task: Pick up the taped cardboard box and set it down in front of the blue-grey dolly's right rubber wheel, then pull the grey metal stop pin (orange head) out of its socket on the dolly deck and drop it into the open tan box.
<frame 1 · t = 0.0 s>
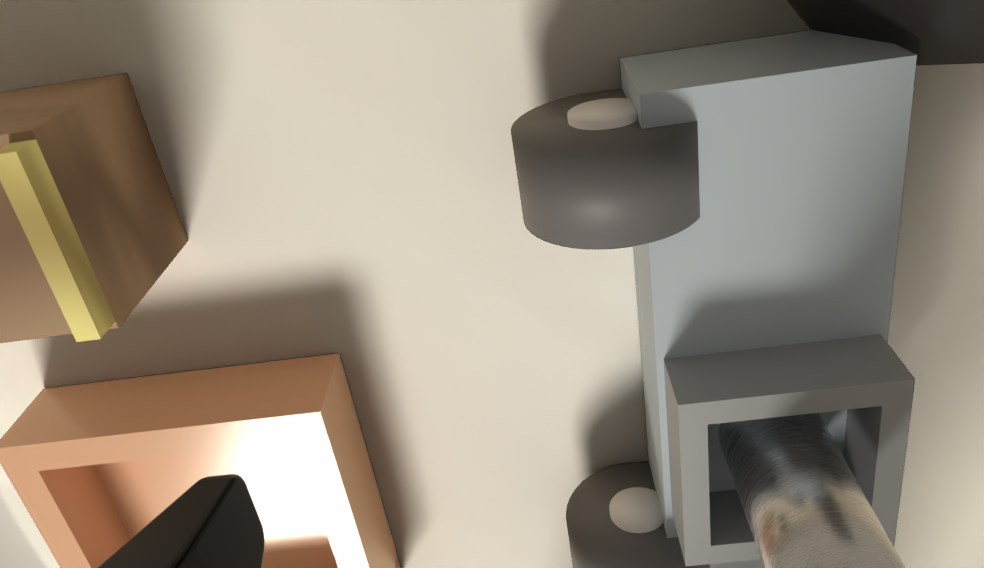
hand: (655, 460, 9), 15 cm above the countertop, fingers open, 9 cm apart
open tan box: (235, 486, 28), on the countertop
taped cardboard box: (76, 172, 23), on the countertop
pin: (769, 430, 22), point 3 cm above the countertop, touching dolly
dolly: (687, 311, 25), on the countertop
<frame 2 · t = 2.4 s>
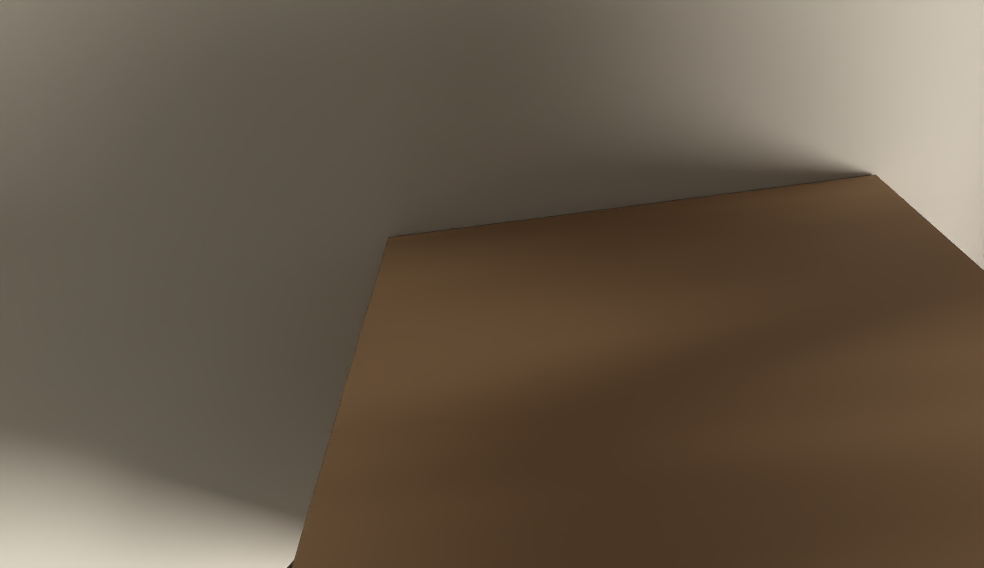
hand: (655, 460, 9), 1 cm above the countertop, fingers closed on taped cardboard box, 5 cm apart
taped cardboard box: (640, 400, 9), on the countertop, touching gripper
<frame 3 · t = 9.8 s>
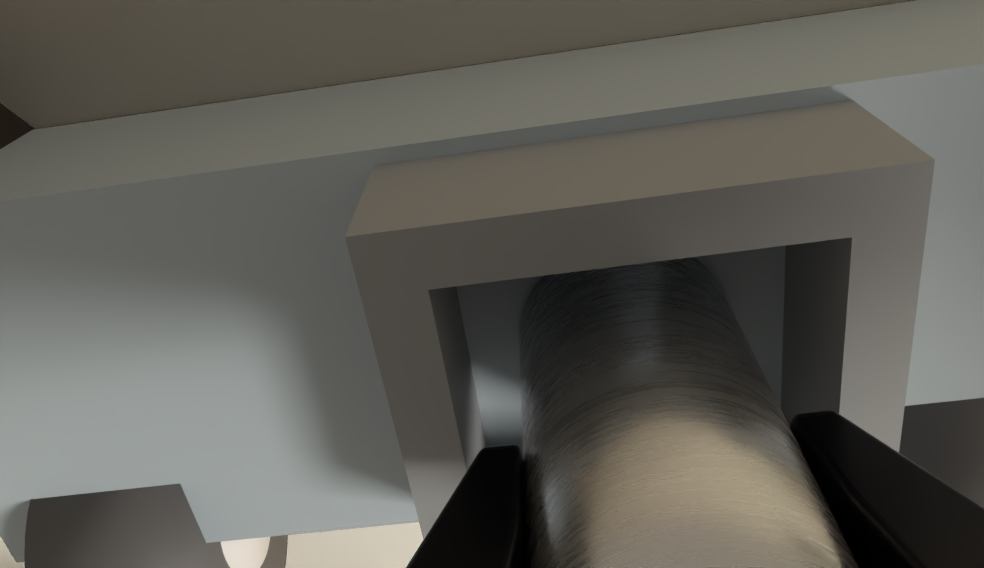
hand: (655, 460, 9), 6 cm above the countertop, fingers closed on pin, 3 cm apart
pin: (623, 333, 11), point 3 cm above the countertop, touching dolly, gripper
dolly: (494, 313, 15), on the countertop
when the fingers open (5 cm above the countertop, at t = 13.3 s): pin drops 2 cm, resting on open tan box.
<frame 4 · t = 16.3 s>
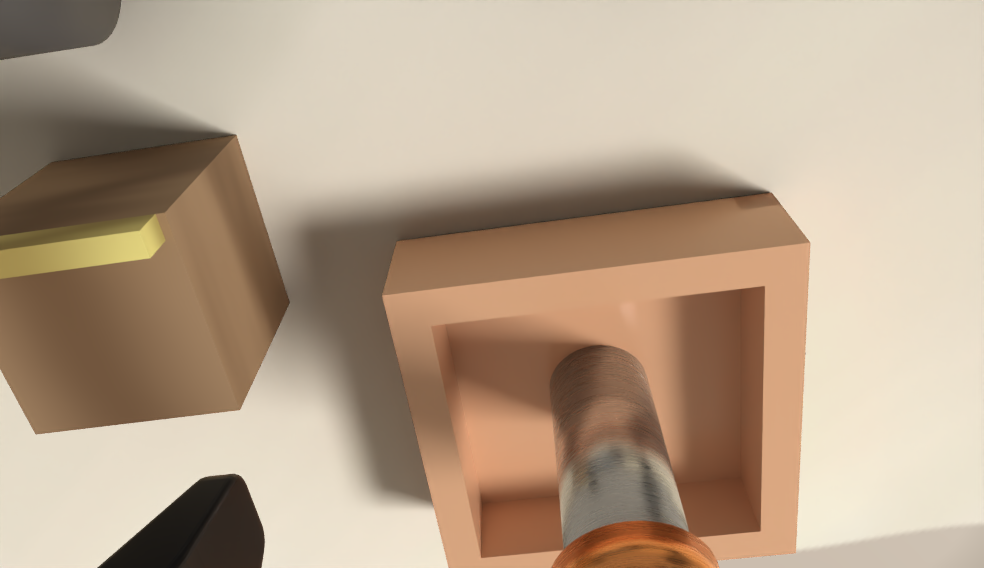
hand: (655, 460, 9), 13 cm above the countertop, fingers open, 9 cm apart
open tan box: (596, 370, 24), on the countertop
taped cardboard box: (176, 234, 22), on the countertop
pin: (598, 386, 23), point 1 cm above the countertop, touching open tan box
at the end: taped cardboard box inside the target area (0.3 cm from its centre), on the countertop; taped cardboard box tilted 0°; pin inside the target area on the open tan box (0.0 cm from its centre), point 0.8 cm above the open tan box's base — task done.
